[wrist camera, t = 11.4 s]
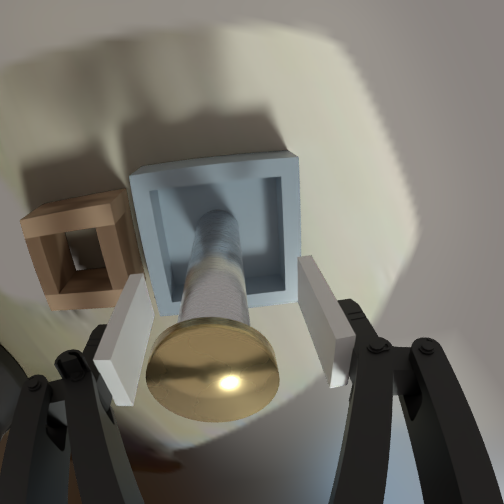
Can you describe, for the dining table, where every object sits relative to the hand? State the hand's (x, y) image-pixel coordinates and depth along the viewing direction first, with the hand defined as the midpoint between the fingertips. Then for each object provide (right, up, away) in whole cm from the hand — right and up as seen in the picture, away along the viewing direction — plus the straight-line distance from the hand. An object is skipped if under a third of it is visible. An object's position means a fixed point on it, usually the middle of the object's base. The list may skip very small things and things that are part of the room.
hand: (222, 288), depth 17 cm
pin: (-1, +4, +7) cm, 8 cm away
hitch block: (-12, +3, +8) cm, 14 cm away
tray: (-1, +4, +8) cm, 9 cm away
